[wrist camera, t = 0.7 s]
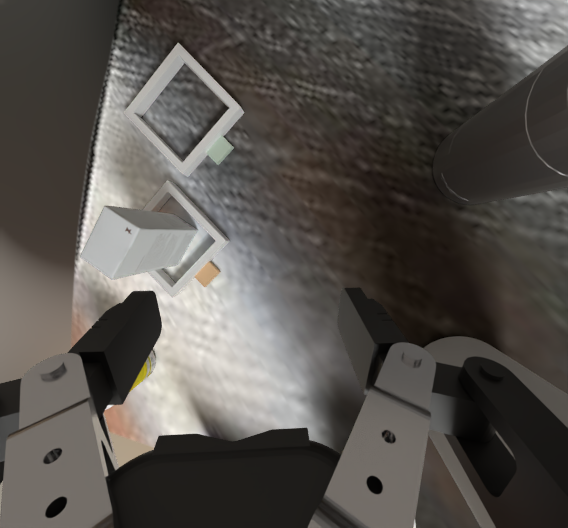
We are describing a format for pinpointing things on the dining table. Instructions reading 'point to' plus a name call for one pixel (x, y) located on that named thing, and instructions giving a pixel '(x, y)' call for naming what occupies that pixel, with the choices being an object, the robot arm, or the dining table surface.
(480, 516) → the cylinder vase
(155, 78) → the frame
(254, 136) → the dining table surface
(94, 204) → the dining table surface
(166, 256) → the skincare box
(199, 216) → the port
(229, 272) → the dining table surface
